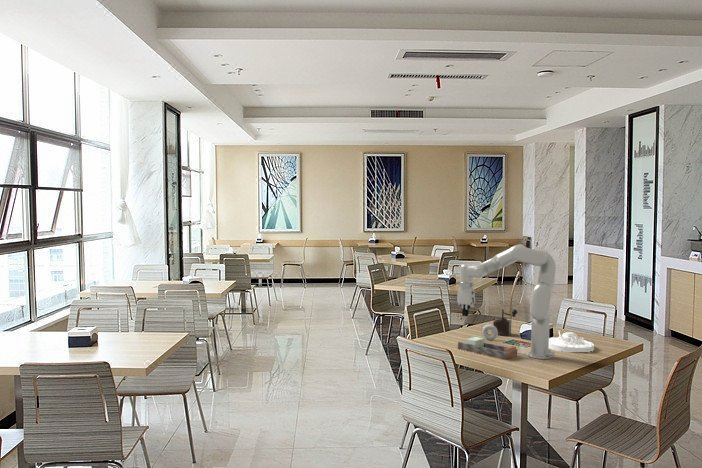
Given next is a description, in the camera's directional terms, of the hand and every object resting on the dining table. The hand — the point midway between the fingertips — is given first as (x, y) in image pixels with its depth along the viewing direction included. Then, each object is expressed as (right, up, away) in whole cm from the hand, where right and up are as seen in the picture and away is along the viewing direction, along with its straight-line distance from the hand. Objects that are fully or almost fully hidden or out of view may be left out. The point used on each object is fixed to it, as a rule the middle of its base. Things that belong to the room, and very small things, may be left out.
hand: (465, 315), depth 331 cm
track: (+10, -20, -11) cm, 25 cm away
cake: (+64, -21, +6) cm, 67 cm away
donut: (+20, -19, +23) cm, 36 cm away
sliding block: (+5, -18, -5) cm, 19 cm away
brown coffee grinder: (+35, -19, +39) cm, 56 cm away
